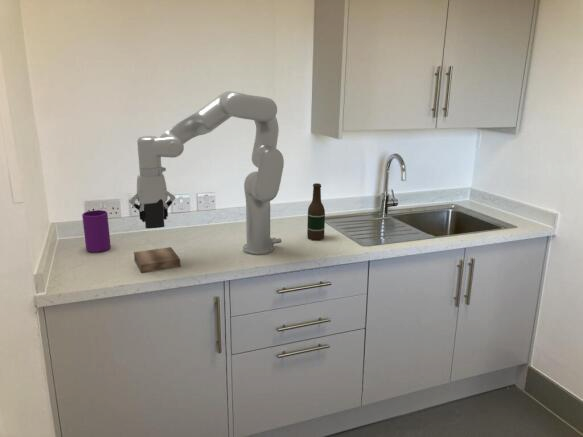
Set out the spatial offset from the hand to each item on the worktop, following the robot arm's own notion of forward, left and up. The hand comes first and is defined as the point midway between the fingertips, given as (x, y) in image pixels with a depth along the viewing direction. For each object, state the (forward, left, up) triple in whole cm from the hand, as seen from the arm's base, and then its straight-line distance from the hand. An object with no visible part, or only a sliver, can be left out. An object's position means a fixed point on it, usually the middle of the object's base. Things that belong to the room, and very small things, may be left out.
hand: (154, 219), depth 179 cm
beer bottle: (-68, -1, -17) cm, 70 cm away
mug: (+18, -28, -17) cm, 37 cm away
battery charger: (0, 0, -3) cm, 3 cm away
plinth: (0, 0, -17) cm, 17 cm away
